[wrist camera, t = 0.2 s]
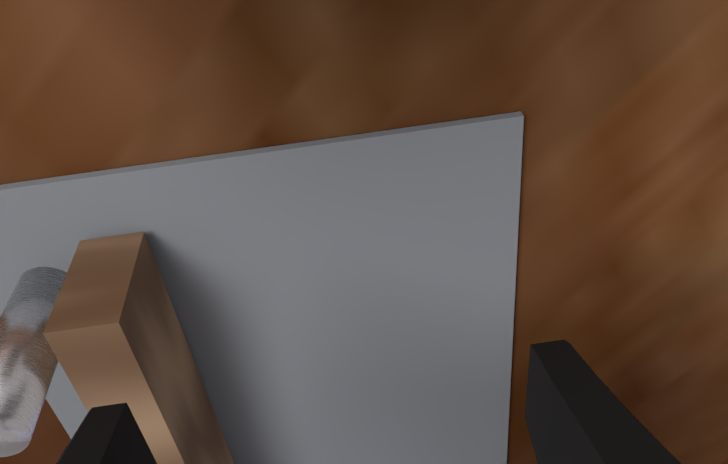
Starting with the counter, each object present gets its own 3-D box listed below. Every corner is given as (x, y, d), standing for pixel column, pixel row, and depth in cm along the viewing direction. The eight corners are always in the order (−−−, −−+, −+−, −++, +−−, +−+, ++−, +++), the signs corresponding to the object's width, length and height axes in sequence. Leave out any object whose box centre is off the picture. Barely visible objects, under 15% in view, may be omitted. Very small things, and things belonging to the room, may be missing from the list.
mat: (503, 480, 32) (505, 485, 32) (136, 535, 32) (135, 541, 32) (521, 111, 20) (523, 115, 20) (-74, 195, 20) (-78, 200, 19)
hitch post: (92, 301, 23) (42, 451, 18) (34, 309, 23) (-31, 462, 18) (71, 257, 22) (10, 405, 17) (9, 265, 21) (-68, 416, 17)
